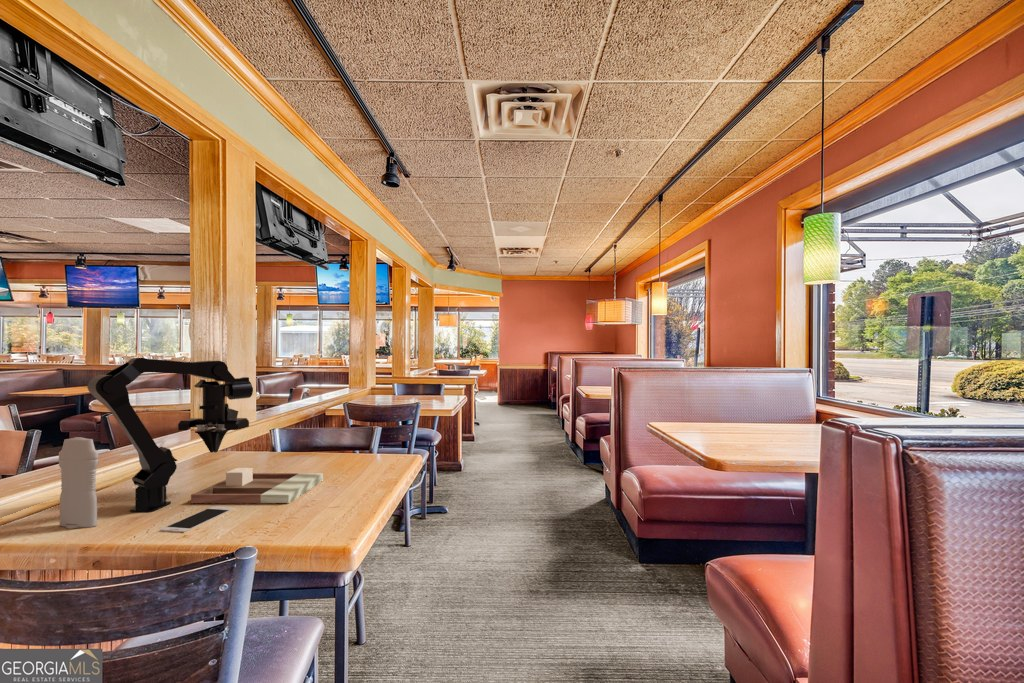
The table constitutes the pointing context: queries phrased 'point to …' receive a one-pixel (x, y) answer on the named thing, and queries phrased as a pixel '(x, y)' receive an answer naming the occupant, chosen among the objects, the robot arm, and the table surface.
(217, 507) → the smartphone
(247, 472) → the block
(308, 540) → the table surface
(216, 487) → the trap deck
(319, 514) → the table surface
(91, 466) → the tall pale column
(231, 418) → the robot arm
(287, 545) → the table surface
